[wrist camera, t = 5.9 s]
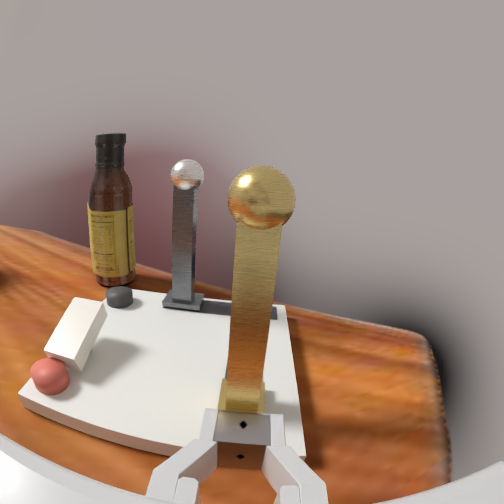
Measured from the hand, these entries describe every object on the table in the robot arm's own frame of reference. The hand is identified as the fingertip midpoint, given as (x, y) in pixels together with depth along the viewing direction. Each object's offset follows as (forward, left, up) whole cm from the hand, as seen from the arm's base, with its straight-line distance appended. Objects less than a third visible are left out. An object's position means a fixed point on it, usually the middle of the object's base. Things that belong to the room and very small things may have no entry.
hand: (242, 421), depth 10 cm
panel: (-6, +12, -8) cm, 16 cm away
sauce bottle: (-19, +27, -8) cm, 34 cm away
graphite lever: (-7, +20, -6) cm, 22 cm away
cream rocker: (-14, +9, -5) cm, 17 cm away
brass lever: (0, +6, -6) cm, 9 cm away
